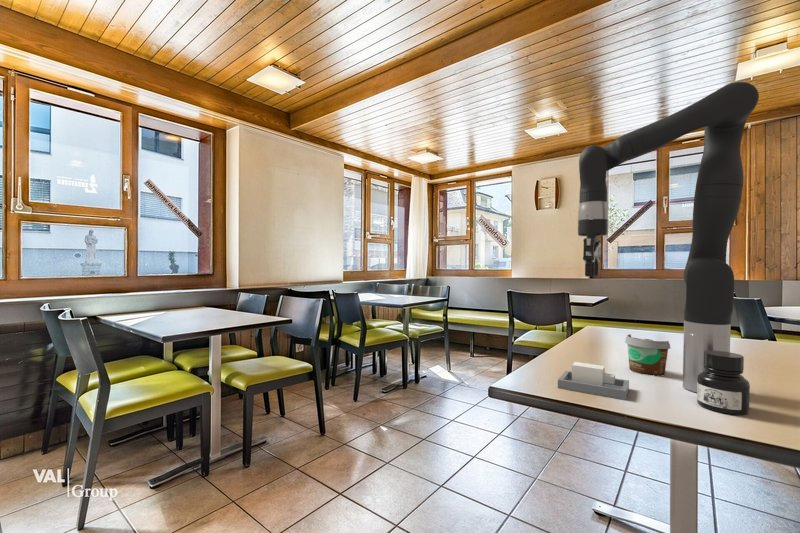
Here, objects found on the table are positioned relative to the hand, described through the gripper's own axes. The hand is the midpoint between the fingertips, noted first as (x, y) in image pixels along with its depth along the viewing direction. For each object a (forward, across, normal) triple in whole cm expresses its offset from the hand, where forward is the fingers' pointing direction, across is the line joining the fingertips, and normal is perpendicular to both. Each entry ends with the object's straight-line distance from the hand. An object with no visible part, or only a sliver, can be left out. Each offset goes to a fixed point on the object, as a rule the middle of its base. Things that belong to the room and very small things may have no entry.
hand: (591, 276), depth 110 cm
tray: (+28, +13, +2) cm, 31 cm away
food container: (+28, -12, +12) cm, 33 cm away
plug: (+28, +13, +2) cm, 31 cm away
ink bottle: (+28, +11, +28) cm, 41 cm away
